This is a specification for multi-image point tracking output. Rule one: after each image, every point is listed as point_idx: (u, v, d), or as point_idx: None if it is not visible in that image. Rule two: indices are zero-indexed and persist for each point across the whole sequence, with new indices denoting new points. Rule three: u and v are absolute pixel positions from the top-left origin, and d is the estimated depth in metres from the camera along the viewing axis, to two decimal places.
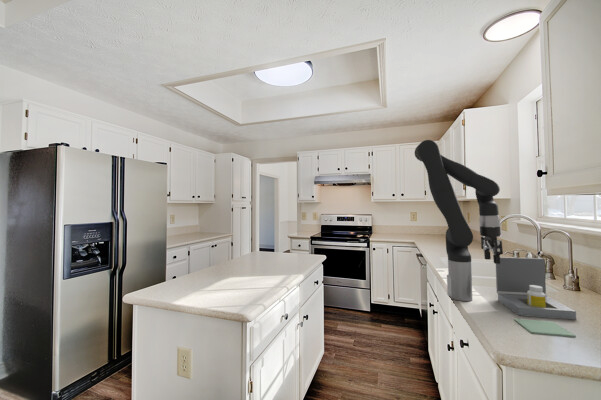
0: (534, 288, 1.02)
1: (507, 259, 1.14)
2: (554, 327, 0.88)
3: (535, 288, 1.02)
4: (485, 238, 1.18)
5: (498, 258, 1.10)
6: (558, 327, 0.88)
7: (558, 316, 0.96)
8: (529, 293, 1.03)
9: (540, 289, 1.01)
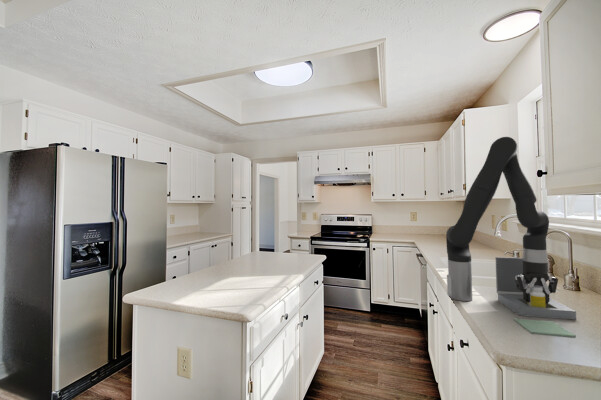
0: (534, 288, 1.02)
1: (507, 259, 1.14)
2: (554, 327, 0.88)
3: (535, 288, 1.02)
4: (530, 275, 1.02)
5: None
6: (558, 327, 0.88)
7: (558, 316, 0.96)
8: None
9: (540, 289, 1.01)
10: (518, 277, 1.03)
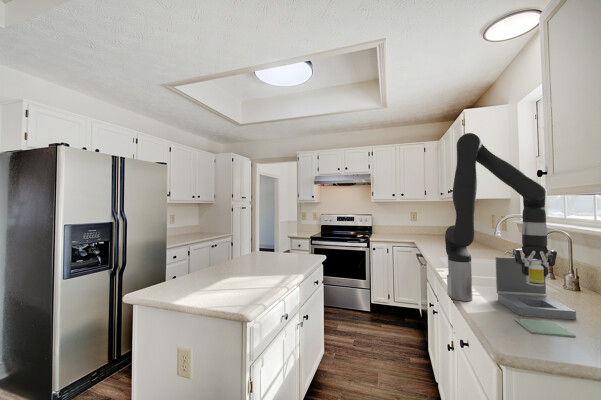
0: (533, 261, 1.02)
1: (507, 259, 1.14)
2: (554, 327, 0.88)
3: (534, 261, 1.02)
4: (529, 248, 1.03)
5: None
6: (558, 327, 0.88)
7: (558, 316, 0.96)
8: None
9: (539, 262, 1.01)
10: (517, 250, 1.04)
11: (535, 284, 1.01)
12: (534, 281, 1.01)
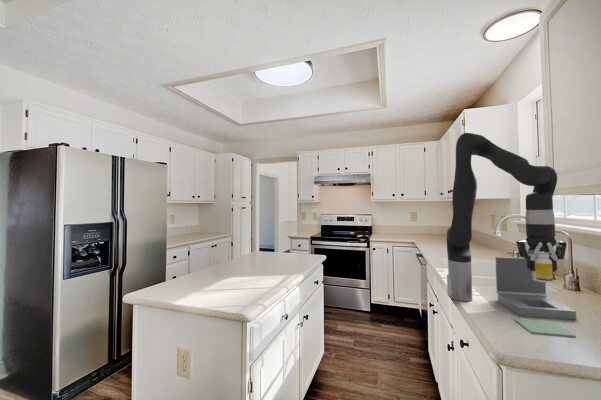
0: (540, 254, 0.89)
1: (507, 259, 1.14)
2: (554, 327, 0.88)
3: (540, 254, 0.89)
4: (534, 240, 0.89)
5: None
6: (558, 327, 0.88)
7: (558, 316, 0.96)
8: (534, 260, 0.90)
9: (546, 255, 0.88)
10: (521, 242, 0.90)
11: (544, 281, 0.87)
12: (542, 277, 0.88)
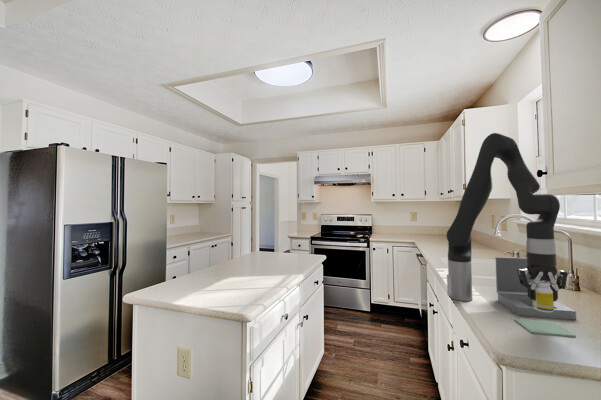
0: (541, 283, 0.88)
1: (507, 259, 1.14)
2: (554, 327, 0.88)
3: (541, 284, 0.88)
4: (535, 269, 0.89)
5: None
6: (558, 327, 0.88)
7: (558, 316, 0.96)
8: (534, 289, 0.89)
9: (547, 285, 0.87)
10: (522, 271, 0.90)
11: (544, 311, 0.87)
12: (543, 307, 0.87)
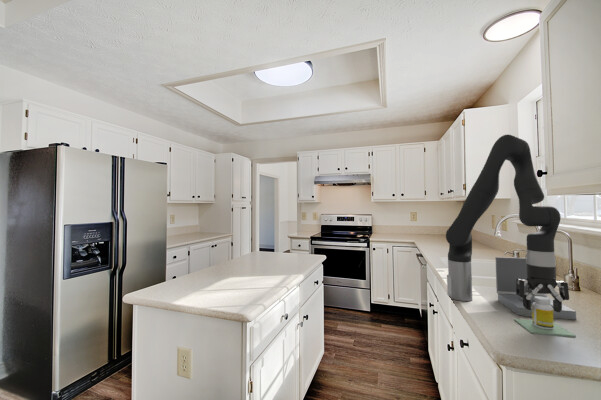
0: (541, 300, 0.88)
1: (507, 259, 1.14)
2: (554, 327, 0.88)
3: (541, 300, 0.88)
4: (535, 281, 0.89)
5: None
6: (558, 327, 0.88)
7: (558, 316, 0.96)
8: (534, 306, 0.89)
9: (547, 301, 0.87)
10: (521, 281, 0.90)
11: (544, 328, 0.87)
12: (543, 324, 0.87)
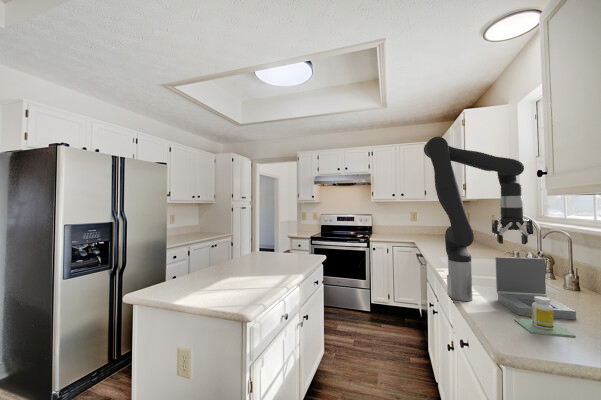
0: (541, 300, 0.88)
1: (507, 259, 1.14)
2: (554, 327, 0.88)
3: (541, 300, 0.88)
4: (506, 220, 1.11)
5: None
6: (558, 327, 0.88)
7: (558, 316, 0.96)
8: (534, 306, 0.89)
9: (547, 301, 0.87)
10: (495, 220, 1.12)
11: (544, 328, 0.87)
12: (543, 324, 0.87)
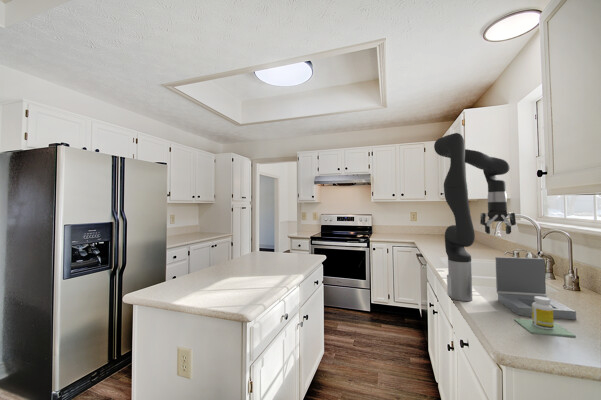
0: (541, 300, 0.88)
1: (507, 259, 1.14)
2: (554, 327, 0.88)
3: (541, 300, 0.88)
4: (493, 213, 1.27)
5: None
6: (558, 327, 0.88)
7: (558, 316, 0.96)
8: (534, 306, 0.89)
9: (547, 301, 0.87)
10: (483, 213, 1.28)
11: (544, 328, 0.87)
12: (543, 324, 0.87)
